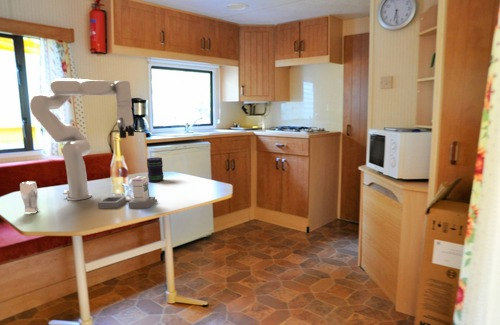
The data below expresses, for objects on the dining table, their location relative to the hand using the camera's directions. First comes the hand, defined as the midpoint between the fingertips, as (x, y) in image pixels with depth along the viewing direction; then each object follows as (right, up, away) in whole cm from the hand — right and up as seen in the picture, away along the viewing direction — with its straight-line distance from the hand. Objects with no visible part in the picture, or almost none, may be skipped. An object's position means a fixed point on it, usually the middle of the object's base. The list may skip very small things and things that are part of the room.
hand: (127, 136), depth 191 cm
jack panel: (+4, -35, -9) cm, 37 cm away
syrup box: (+11, -36, -11) cm, 39 cm away
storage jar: (+4, -26, +42) cm, 50 cm away
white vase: (-40, -39, -18) cm, 59 cm away
